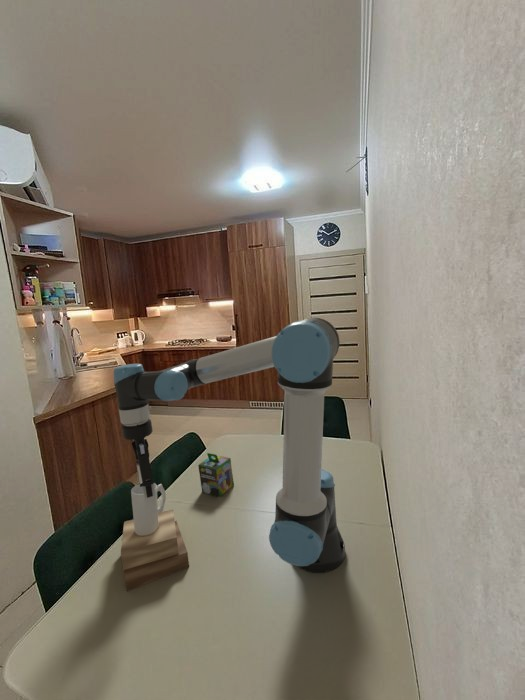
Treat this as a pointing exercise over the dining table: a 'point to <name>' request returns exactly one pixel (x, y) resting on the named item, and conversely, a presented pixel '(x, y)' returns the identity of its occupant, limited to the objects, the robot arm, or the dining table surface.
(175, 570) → the wooden stepped stand
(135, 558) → the beech slab
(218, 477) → the chalk box
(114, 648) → the dining table surface
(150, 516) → the mug
